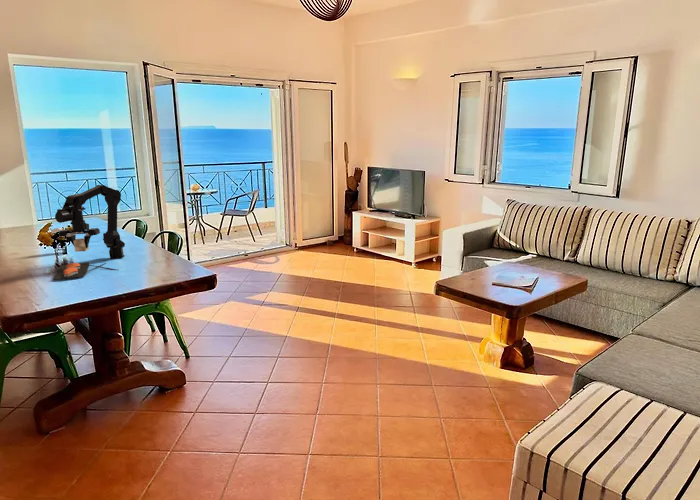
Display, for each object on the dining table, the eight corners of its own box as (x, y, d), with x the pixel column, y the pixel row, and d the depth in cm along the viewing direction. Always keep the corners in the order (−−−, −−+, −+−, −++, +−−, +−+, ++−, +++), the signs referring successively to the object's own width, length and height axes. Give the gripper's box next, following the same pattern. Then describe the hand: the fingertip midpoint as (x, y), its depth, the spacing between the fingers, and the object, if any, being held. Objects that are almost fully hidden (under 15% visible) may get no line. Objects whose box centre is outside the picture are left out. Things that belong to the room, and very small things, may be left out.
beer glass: (62, 254, 289) (58, 230, 286) (52, 254, 291) (48, 230, 287) (71, 251, 296) (66, 228, 292) (61, 251, 297) (57, 227, 294)
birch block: (88, 249, 260) (87, 238, 258) (85, 251, 255) (83, 240, 253) (79, 249, 259) (77, 238, 258) (75, 251, 254) (73, 240, 253)
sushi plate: (61, 268, 262) (59, 261, 261) (121, 261, 273) (120, 254, 272) (52, 283, 236) (51, 276, 235) (119, 275, 247) (118, 267, 247)
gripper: (101, 216, 262) (105, 243, 266) (65, 217, 260) (69, 245, 263) (93, 219, 251) (98, 248, 255) (55, 221, 249) (60, 250, 253)
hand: (81, 248), depth 257 cm, fingers closed on birch block, 5 cm apart
